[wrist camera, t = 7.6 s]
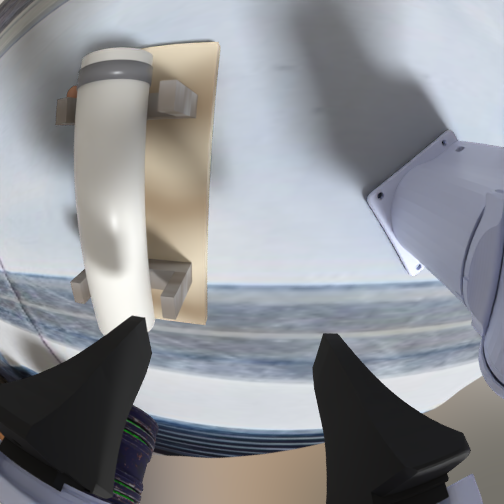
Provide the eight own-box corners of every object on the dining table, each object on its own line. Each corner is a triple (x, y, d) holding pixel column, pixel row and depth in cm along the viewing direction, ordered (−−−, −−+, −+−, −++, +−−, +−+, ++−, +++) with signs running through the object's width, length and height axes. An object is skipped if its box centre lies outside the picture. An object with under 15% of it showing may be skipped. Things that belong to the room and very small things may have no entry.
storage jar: (173, 435, 30) (153, 524, 16) (126, 435, 32) (102, 509, 18) (126, 393, 26) (86, 495, 13) (82, 397, 28) (44, 476, 14)
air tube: (166, 312, 18) (135, 349, 14) (120, 298, 18) (86, 328, 15) (168, 60, 12) (123, 40, 8) (113, 72, 12) (65, 62, 8)
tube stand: (99, 61, 13) (55, 45, 8) (220, 47, 13) (205, 12, 8) (108, 303, 21) (78, 341, 16) (207, 317, 21) (194, 366, 16)
